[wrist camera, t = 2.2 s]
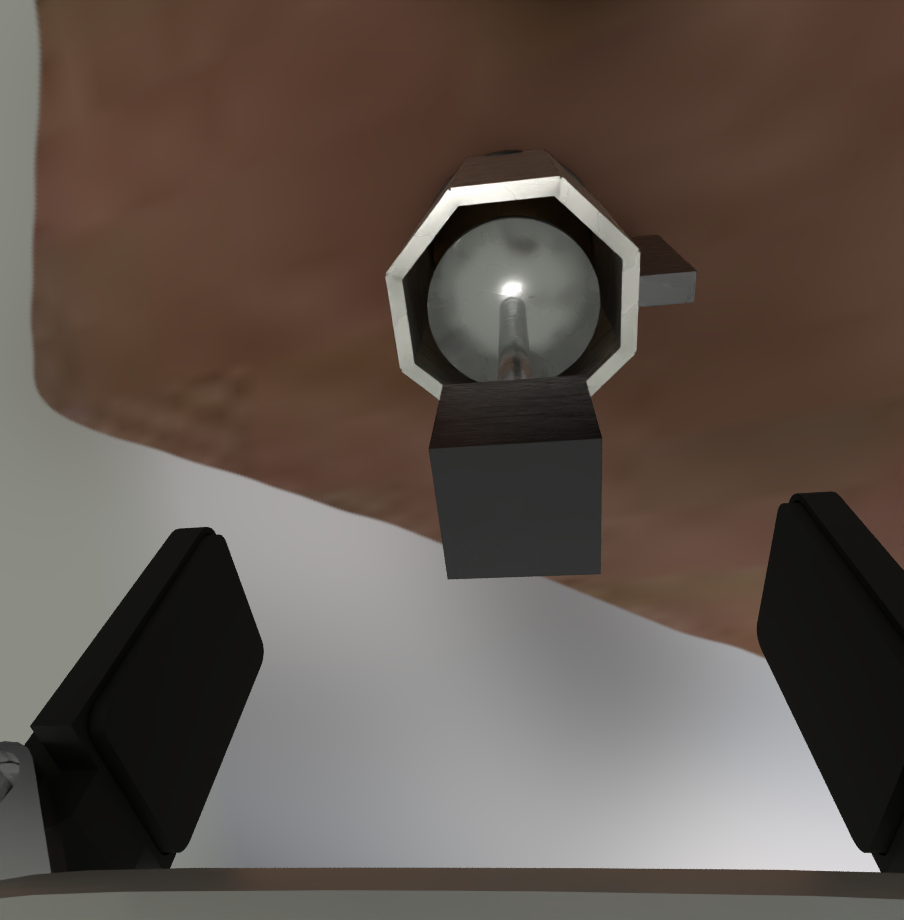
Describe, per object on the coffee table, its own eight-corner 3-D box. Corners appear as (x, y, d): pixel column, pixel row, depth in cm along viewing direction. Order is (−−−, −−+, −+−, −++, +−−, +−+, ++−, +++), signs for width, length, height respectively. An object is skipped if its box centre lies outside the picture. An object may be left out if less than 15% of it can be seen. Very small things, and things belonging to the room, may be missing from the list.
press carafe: (647, 134, 31) (719, 155, 20) (640, 320, 35) (695, 414, 25) (413, 161, 32) (369, 193, 22) (435, 336, 37) (407, 432, 26)
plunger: (598, 206, 23) (707, 342, 10) (597, 374, 26) (679, 631, 14) (418, 224, 24) (322, 371, 11) (439, 386, 27) (382, 638, 14)
